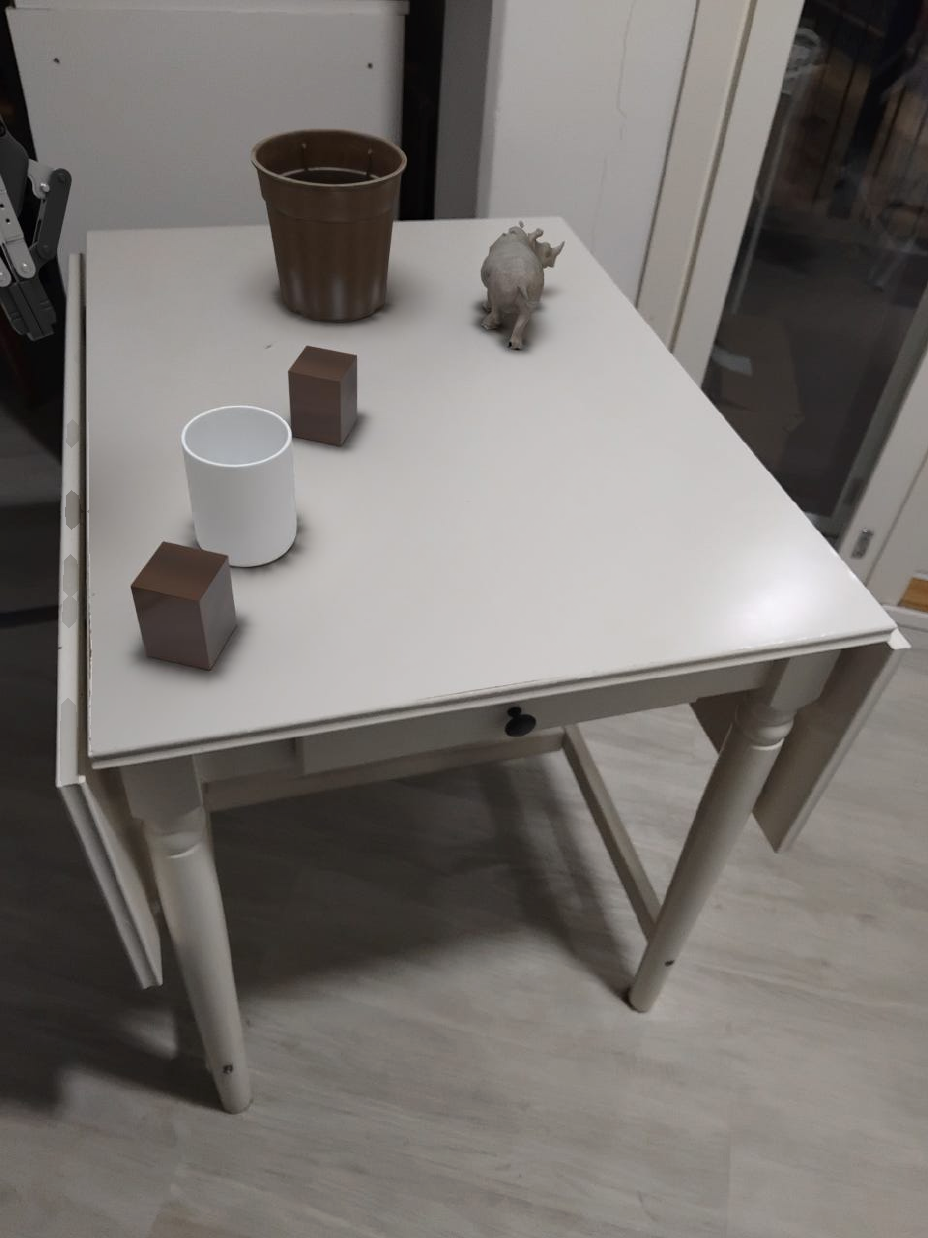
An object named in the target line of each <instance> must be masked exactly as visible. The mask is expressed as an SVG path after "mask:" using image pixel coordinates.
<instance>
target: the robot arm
mask: <svg viewBox="0 0 928 1238" xmlns="http://www.w3.org/2000/svg"><path fill="white" fill-rule="evenodd" d="M28 178H29V179H30V181H31V184H32V192H33V194H34V196H35V197H36V198H37V199H39V200H40V205H39V211H38V216H37V218H36V219H37V220H36V223H35V230H34V234H33V238H32V244H31V245H30V246H29V247H28V245H27V243H26V240H25V234H24V231H23V230H22V228H21V225H20V222H19V219H18V217H19V216H20V215H21V212H22V209H23V204H24V199H25V192H26V186H27V179H28ZM72 183H73V177H72V174H71V173H70V171H68V170H67V169H65V168H63V167H58V168H53V167H51V166H49V165H46V164H43V163H41V162H39V161H36V160H33V159H31V158H29V155H28V152H27V150H26V149H25V148H24V146H23V145H22V144H21V143H20V142H19V141H17V140H16V139H15V138H14V137H13V135H11V133H10V132H9V129H8V128H7V126H6V124H5V121H4V120H3V118H2V115H1V114H0V247H1V249H2V252H3V254H4V256H5V259H6V261H7V263H8V266H9V269H10V271H11V273H12V275H13V277H14V279H15V281H16V282H14V281H13V279H12V275H11V273H10V271H9V270H8V268H7V266H6V264H5V263H4V261H3V258H1V257H0V306H1V308H2V310H3V311H4V314H5V315H6V318H7V319H8V321H9V323H10V325H11V327H12V329H13V330H14V331H16V333H18V334H19V335H21V336H24V335H27V337H28V339H29V340H30V341H33V342H35V341H39V340H40V339H43V338H45V337H48V336H52V335H53V334H55V333H54V329H53V327H52V325H53V324H57V323H58V322H57V313H56V312H55V309H54V307H53V305H52V303H51V301H50V299H49V297H48V295H47V293H46V290H45V289H44V286H43V285H42V283H41V280H40V278H39V272H40V269H42V267H43V266H44V265H46V263H47V262H49V261H50V260H53V259H54V258H56V256H57V252H58V248H59V244H60V239H61V235H62V229H63V224H64V221H65V216H66V215H65V214H66V211H67V206H68V201H69V196H70V191H71V187H72Z"/></svg>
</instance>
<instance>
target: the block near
mask: <svg viewBox="0 0 928 1238" xmlns="http://www.w3.org/2000/svg"><path fill="white" fill-rule="evenodd" d="M130 591H131V594H132V599H133V604H134V609H135V612H136V617H137V622H138V625H139V630H140V634H141V639H142V643H143V647H144V652H145V656H147V657H152V658H156V659H160V660H164V661H169V662H172V663H177V664H181V665H186V666H190V667H194V668H197V669H202V670H207V671H211V669H212V668H213V666H214V664H215V663H216V661H217V659H218V657H220V654H221V652H222V651H223V649H224V647H225V645H226V644H227V642H228V640H229V639H230V637H231V635H232V633H233V632H234V630H235V628H236V627H237V625H238V622H237V615H236V607H235V598H234V591H233V583H232V574H231V565H229V557H228V555H224V554H219V553H215V552H210V551H206V550H203V549H202V548H201V549H200V548H195V547H191V546H187V545H182V544H178V543H174V542H168V541H165V540H164V541H163V540H162V542H161V543H160V545H159V546H158V547H157V549H156V550H155V552H154V553H153V554H152V555H151V557H150V558H149V559H148V560H147V562H146V563H145V565H144V567H143V568H142V569H141V571H140V572H139V573H138V575H137V576H136V577H135V579H134V580H133V581H132V583H131V584H130Z"/></svg>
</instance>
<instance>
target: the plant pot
mask: <svg viewBox="0 0 928 1238" xmlns="http://www.w3.org/2000/svg"><path fill="white" fill-rule="evenodd" d="M250 161H251V164H252V165H253V167H254V168H255V169H256V174H257V178H258V183H259V189H260V195H261V198H262V200H263V201H264V202H265V208H266V213H267V218H268V224H269V229H270V236H271V240H272V241H271V242H272V246H273V247H272V248H273V253H274V259H275V264H276V270H277V276H278V283H279V291H280V296H281V297H280V298H281V300H282V301H283V303H284V305H285V306H286V308H287V309H288V310H290V311H291V312H293V313H294V314H299V313H302V314H304V315H305V316H307V317H308V318H309V319H310V320H315V321H321V322H332V323H339V322H350V321H355V320H361V319H363V318H366V317H370V316H371V315H372V314H373V312H374V311H375V310H376V309H381V308H382V307H383V306H384V304H385V302H386V297H387V287H388V286H387V285H388V275H389V265H390V254H391V247H392V246H391V245H392V238H393V237H392V236H393V228H394V227H393V226H394V219H395V211H396V204H397V203H398V201H399V198H400V191H401V190H400V189H401V180H402V174H403V173H404V171H405V170H406V168H407V164H408V163H407V161H408V159H407V156H406V154H405V152H404V151H403V150H402V149H401V148H400V147H399V146H397V145H396V144H394V143H393V142H391V141H389V140H387V139H385V138H382V137H380V136H377V135H373V134H370V133H367V132H361V131H356V130H351V129H341V128H304V129H295V130H289V131H283V132H280V133H277V134H272V135H270V136H267V137H266V138H263V139H262V140H260V141H258V142H257V143H255V145H254V146H253V147H252V149H251V150H250Z"/></svg>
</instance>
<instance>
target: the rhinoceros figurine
mask: <svg viewBox="0 0 928 1238" xmlns="http://www.w3.org/2000/svg"><path fill="white" fill-rule="evenodd" d="M518 224H519V226H518V225H517V226H516V225H515V226H511V227H510V228H508V232H507V233H506V232H502V233H501V235H500V236H499V237H498V238H497V239H496V240H495V241H493V243H492V244H491V245H490V246H489V251H488V255H487V256H486V257H485V259H484V260H483V263H482V265H481V268H480V279H481V283H482V285H483V286H484V287H485V288H486V289H487V291H486V295H487V299H486V302H484V303H483V305H482V307H483V309H485V311H486V312H488V313H489V314H488V315H487V316H486V317H484V318H483V321H482V323H480V324H481V326H482V327H483V328H485V329H486V330H492V329H493V330H495V329H498V328H500V325H499V324H501V323H502V322H503V319H504V317H505V316H506V315H507V314H513V315H514V314H515V315H517V319H516V321H515V324H514V326H513V330H512V335H511V337H510V339H509V341H508V342H507V347H508V348H509V349H511V350H516V349H519V350H521V351H522V350H523V349H524V348H525V346H524V344H523V331H524V329H525V327H526V325H527V323H528V322H529V321H530V320H531V318H532V316H533V315H534V313H535V312H536V310H537V308H538V305H539V304H540V303H539V302H540V301H541V296H542V294H543V291H544V289H545V270H544V269H547V268H550V269H551V268H552V269H553V268H555V264H556V260H557V257H558V256H559V255H560V253H561V252H562V250H563V248H564V246H565V243H566V242H565V240H563V241H561V243H560V244H559V245H557V246H555V247H551V243H549V242H548V241H544V242H539V241H538V240H537V239H538V238H541V237H543V235H544V233H545V232H544V229H543V228H540V227H537V228H536V229H535V231H533V232H531V233H530V232H528V233H526V231H525V230H523V228H524V222H523V221H522V220H519V222H518ZM510 344H511V346H510Z"/></svg>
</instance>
